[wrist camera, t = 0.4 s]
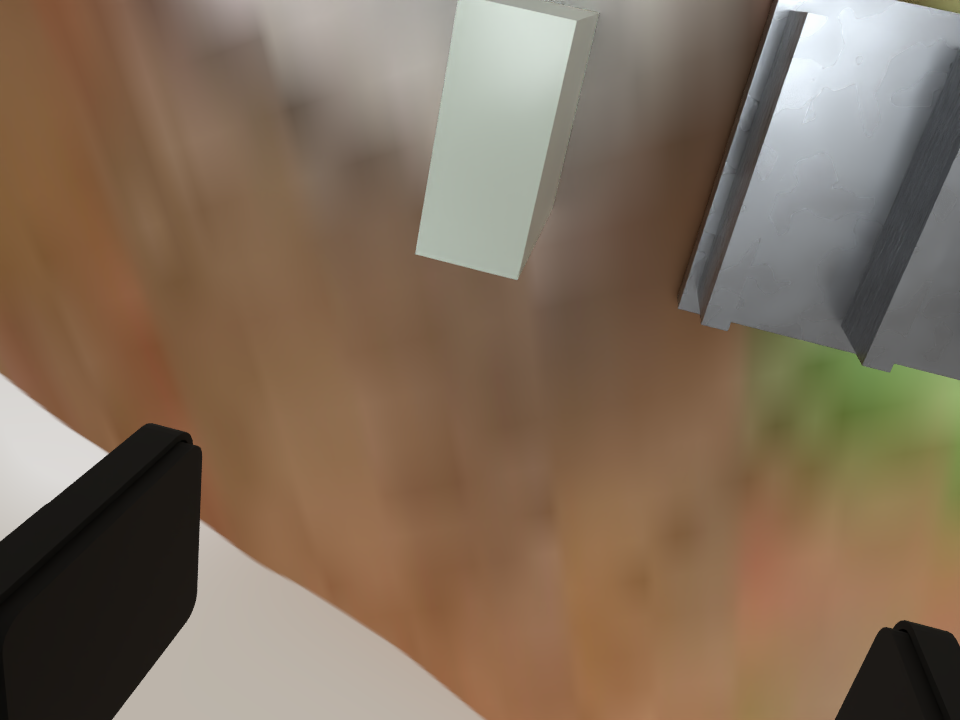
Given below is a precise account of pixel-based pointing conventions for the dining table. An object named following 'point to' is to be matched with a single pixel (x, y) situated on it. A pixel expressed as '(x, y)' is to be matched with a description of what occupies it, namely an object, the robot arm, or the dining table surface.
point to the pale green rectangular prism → (503, 130)
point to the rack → (842, 187)
